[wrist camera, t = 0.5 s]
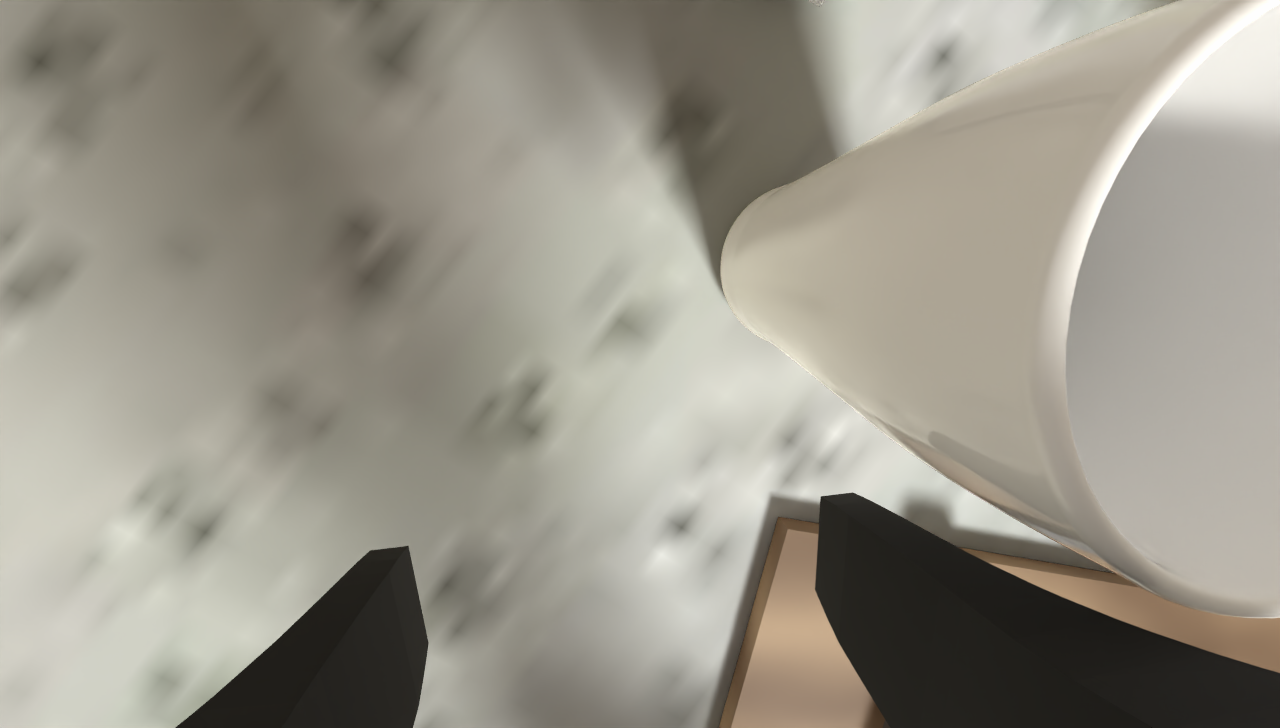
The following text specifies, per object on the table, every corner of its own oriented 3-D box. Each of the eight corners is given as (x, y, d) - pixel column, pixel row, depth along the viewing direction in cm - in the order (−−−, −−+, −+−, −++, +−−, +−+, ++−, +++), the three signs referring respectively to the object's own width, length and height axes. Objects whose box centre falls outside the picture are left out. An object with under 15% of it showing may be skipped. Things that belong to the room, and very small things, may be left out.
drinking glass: (653, 275, 20) (884, 355, 5) (789, 117, 19) (1474, -290, 5) (793, 400, 21) (1286, 743, 7) (923, 256, 21) (1770, 279, 6)
